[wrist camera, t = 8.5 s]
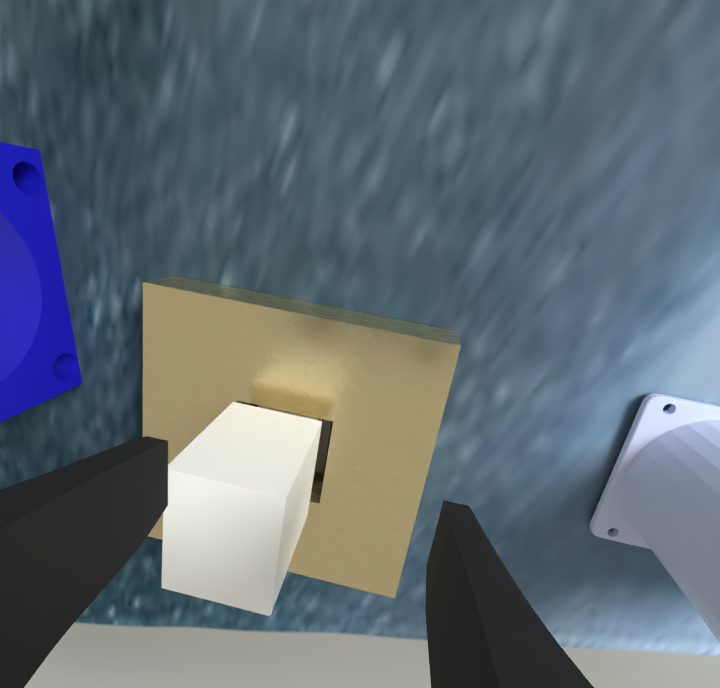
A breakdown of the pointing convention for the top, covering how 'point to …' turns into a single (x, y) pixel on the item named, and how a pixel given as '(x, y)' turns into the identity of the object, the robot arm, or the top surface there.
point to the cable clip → (31, 290)
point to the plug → (239, 506)
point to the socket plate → (308, 407)
